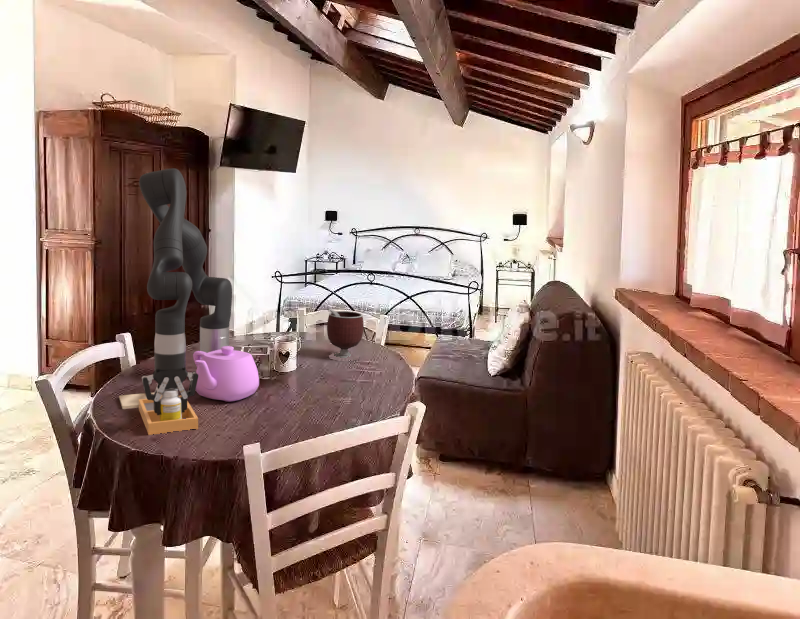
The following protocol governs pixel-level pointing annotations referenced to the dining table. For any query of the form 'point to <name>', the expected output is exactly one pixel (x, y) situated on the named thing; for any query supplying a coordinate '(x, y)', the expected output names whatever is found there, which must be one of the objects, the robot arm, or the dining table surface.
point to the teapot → (226, 374)
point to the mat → (131, 400)
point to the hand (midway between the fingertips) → (170, 412)
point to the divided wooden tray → (158, 426)
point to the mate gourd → (344, 330)
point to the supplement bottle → (170, 405)
